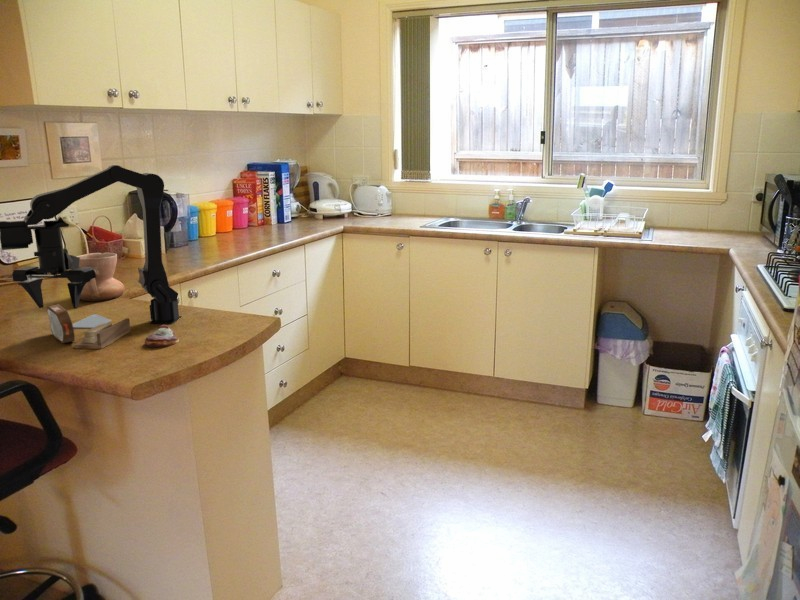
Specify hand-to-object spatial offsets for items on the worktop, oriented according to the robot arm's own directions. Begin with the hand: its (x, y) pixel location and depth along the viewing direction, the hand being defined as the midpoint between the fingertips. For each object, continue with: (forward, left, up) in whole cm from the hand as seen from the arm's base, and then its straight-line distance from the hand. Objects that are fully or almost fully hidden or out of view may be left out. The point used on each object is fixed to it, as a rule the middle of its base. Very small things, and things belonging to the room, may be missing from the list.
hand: (58, 308), depth 164 cm
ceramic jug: (+14, -42, -8) cm, 45 cm away
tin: (0, 0, -8) cm, 8 cm away
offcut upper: (-10, 0, -6) cm, 12 cm away
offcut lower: (-10, 0, -7) cm, 12 cm away
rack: (-11, 0, -8) cm, 14 cm away
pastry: (-28, +3, -9) cm, 29 cm away
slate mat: (+1, -19, -8) cm, 21 cm away
